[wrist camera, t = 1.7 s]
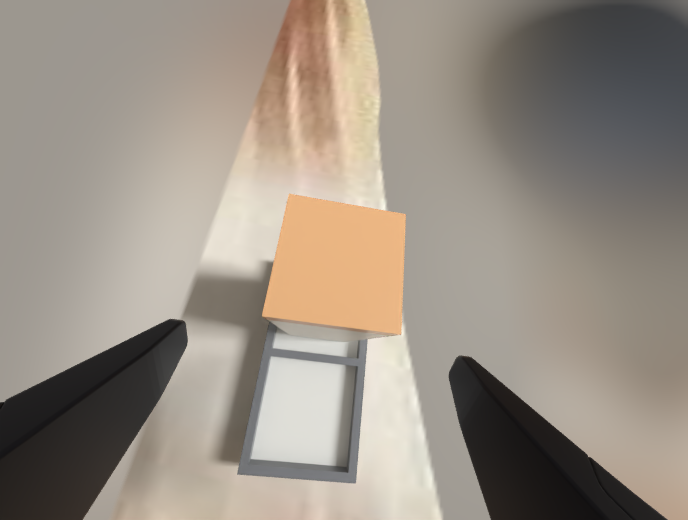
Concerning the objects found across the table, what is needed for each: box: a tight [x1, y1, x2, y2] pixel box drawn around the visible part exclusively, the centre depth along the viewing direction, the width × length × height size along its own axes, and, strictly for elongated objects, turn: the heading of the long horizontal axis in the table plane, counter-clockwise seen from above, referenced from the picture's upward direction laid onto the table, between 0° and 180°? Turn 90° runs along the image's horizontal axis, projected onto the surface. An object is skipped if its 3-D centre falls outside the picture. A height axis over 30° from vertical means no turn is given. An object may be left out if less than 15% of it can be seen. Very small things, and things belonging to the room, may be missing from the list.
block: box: [262, 194, 406, 342], centre depth 14 cm, size 4×4×12 cm
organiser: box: [237, 321, 367, 483], centre depth 18 cm, size 14×7×2 cm, turn 173°
